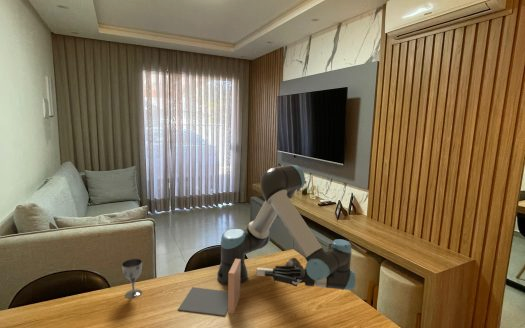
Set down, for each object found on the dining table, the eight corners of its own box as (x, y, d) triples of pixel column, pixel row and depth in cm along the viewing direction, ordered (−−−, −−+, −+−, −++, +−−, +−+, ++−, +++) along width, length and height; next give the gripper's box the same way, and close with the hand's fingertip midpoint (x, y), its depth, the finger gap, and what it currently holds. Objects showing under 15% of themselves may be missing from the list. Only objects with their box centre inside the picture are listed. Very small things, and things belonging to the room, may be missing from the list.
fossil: (303, 280, 145) (295, 263, 144) (287, 286, 147) (278, 269, 146) (305, 269, 155) (297, 252, 154) (289, 274, 158) (281, 258, 157)
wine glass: (147, 290, 134) (145, 260, 131) (134, 301, 126) (132, 268, 124) (133, 287, 136) (131, 257, 134) (119, 296, 129) (117, 265, 126)
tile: (234, 295, 132) (235, 258, 129) (240, 296, 132) (240, 259, 129) (227, 313, 120) (228, 272, 117) (233, 314, 120) (234, 273, 117)
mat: (192, 288, 137) (192, 287, 137) (234, 292, 134) (234, 291, 134) (177, 310, 121) (177, 309, 121) (224, 316, 119) (224, 315, 118)
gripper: (315, 294, 113) (254, 288, 116) (313, 276, 125) (259, 271, 128) (316, 276, 111) (254, 270, 115) (314, 260, 124) (259, 255, 127)
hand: (257, 271), depth 121 cm, fingers closed
